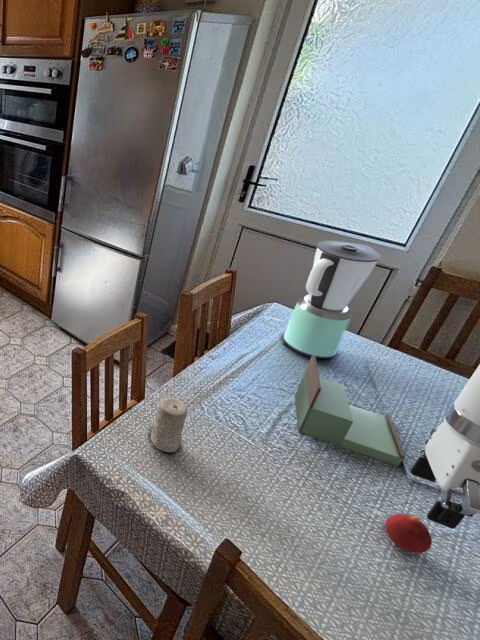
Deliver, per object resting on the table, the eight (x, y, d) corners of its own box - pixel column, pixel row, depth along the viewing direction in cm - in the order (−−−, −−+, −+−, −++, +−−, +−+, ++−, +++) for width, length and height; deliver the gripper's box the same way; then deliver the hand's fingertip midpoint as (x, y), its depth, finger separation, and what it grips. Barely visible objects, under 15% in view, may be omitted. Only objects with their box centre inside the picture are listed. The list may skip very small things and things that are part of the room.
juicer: (302, 331, 137) (341, 234, 122) (348, 355, 126) (397, 251, 111) (262, 344, 131) (298, 244, 116) (306, 370, 120) (352, 263, 105)
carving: (179, 437, 99) (190, 399, 94) (177, 461, 93) (188, 422, 88) (151, 427, 102) (160, 390, 97) (147, 450, 96) (156, 412, 91)
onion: (429, 556, 75) (450, 529, 71) (407, 566, 73) (428, 539, 70) (391, 525, 80) (409, 498, 76) (370, 534, 78) (387, 507, 75)
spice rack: (384, 424, 102) (408, 380, 96) (398, 466, 91) (427, 420, 85) (294, 396, 111) (312, 354, 105) (298, 431, 100) (318, 387, 94)
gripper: (549, 481, 55) (482, 557, 62) (494, 401, 68) (443, 471, 76) (469, 455, 59) (414, 529, 66) (431, 384, 72) (389, 452, 79)
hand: (430, 498), depth 71 cm, fingers open, 9 cm apart
